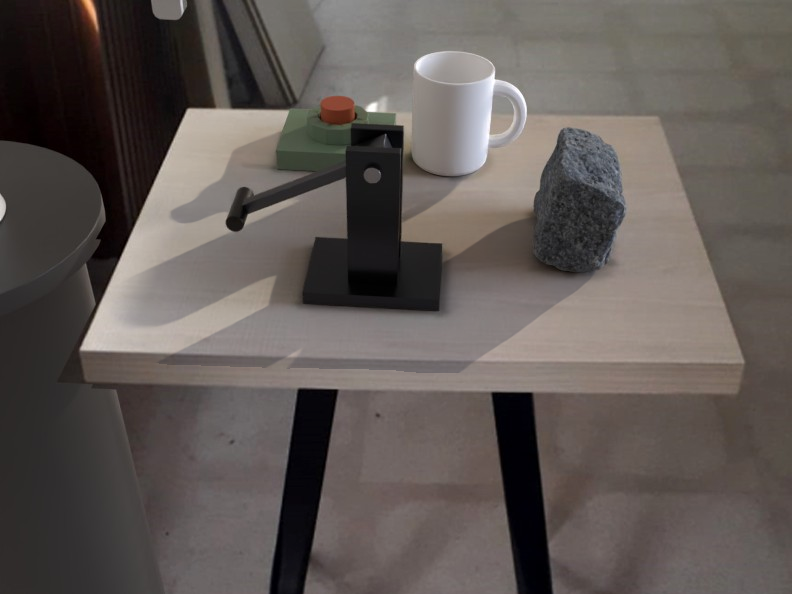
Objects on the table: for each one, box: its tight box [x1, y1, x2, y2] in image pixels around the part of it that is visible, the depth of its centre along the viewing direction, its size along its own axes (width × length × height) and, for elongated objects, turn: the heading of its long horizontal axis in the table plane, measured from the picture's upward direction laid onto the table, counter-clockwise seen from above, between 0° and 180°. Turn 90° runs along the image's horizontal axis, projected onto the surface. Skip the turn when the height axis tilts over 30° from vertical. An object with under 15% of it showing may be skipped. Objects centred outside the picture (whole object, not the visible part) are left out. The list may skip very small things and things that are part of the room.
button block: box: [275, 104, 397, 172], centre depth 104 cm, size 12×10×4 cm
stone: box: [532, 126, 628, 273], centre depth 89 cm, size 12×8×10 cm, turn 0°
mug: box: [410, 50, 528, 177], centre depth 100 cm, size 12×8×10 cm
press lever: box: [225, 134, 392, 233], centre depth 81 cm, size 15×5×2 cm, turn 87°
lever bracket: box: [301, 123, 444, 312], centre depth 82 cm, size 12×9×14 cm
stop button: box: [319, 95, 355, 125], centre depth 102 cm, size 4×4×2 cm
